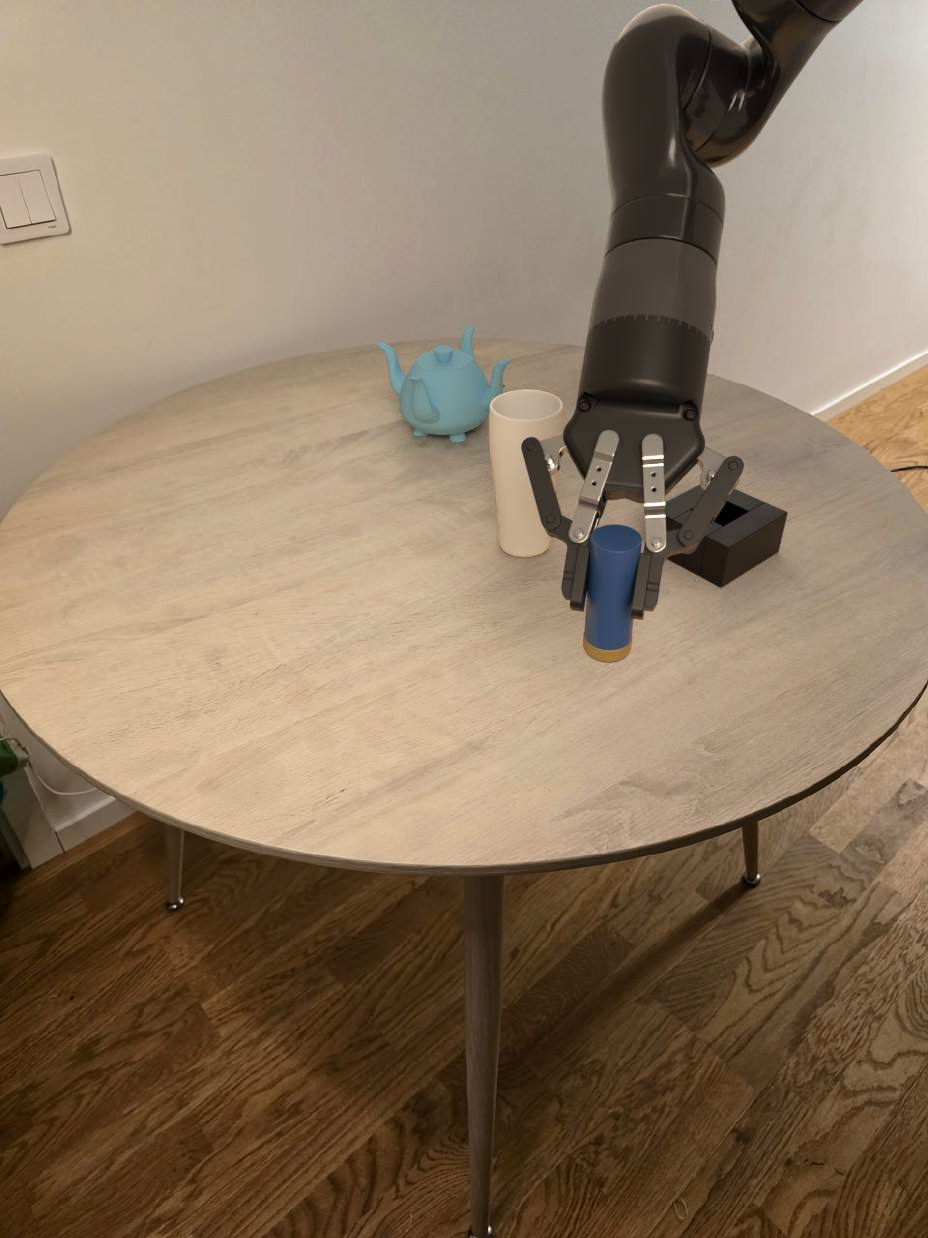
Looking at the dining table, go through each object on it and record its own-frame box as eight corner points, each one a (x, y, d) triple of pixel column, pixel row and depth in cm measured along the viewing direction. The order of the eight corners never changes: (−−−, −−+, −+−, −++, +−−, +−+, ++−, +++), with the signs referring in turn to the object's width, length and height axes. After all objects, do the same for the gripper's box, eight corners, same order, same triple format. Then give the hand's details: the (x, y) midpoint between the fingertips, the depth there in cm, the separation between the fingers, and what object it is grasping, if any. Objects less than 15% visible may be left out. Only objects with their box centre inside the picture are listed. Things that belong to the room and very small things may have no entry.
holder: (778, 551, 84) (788, 512, 81) (721, 588, 79) (729, 547, 77) (704, 516, 89) (711, 477, 86) (647, 548, 85) (651, 509, 82)
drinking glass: (523, 572, 82) (525, 428, 73) (476, 544, 86) (472, 404, 77) (572, 545, 86) (580, 403, 76) (524, 519, 90) (526, 382, 81)
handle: (641, 649, 56) (654, 538, 50) (607, 670, 54) (617, 558, 49) (605, 626, 58) (614, 517, 52) (572, 646, 56) (578, 536, 51)
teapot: (414, 460, 101) (407, 377, 95) (380, 415, 111) (372, 337, 104) (514, 438, 104) (515, 357, 98) (474, 396, 114) (472, 320, 108)
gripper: (527, 303, 51) (480, 588, 50) (776, 316, 48) (734, 622, 46) (543, 356, 58) (503, 606, 57) (760, 371, 55) (723, 637, 54)
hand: (607, 612), depth 52 cm, fingers closed on handle, 3 cm apart
